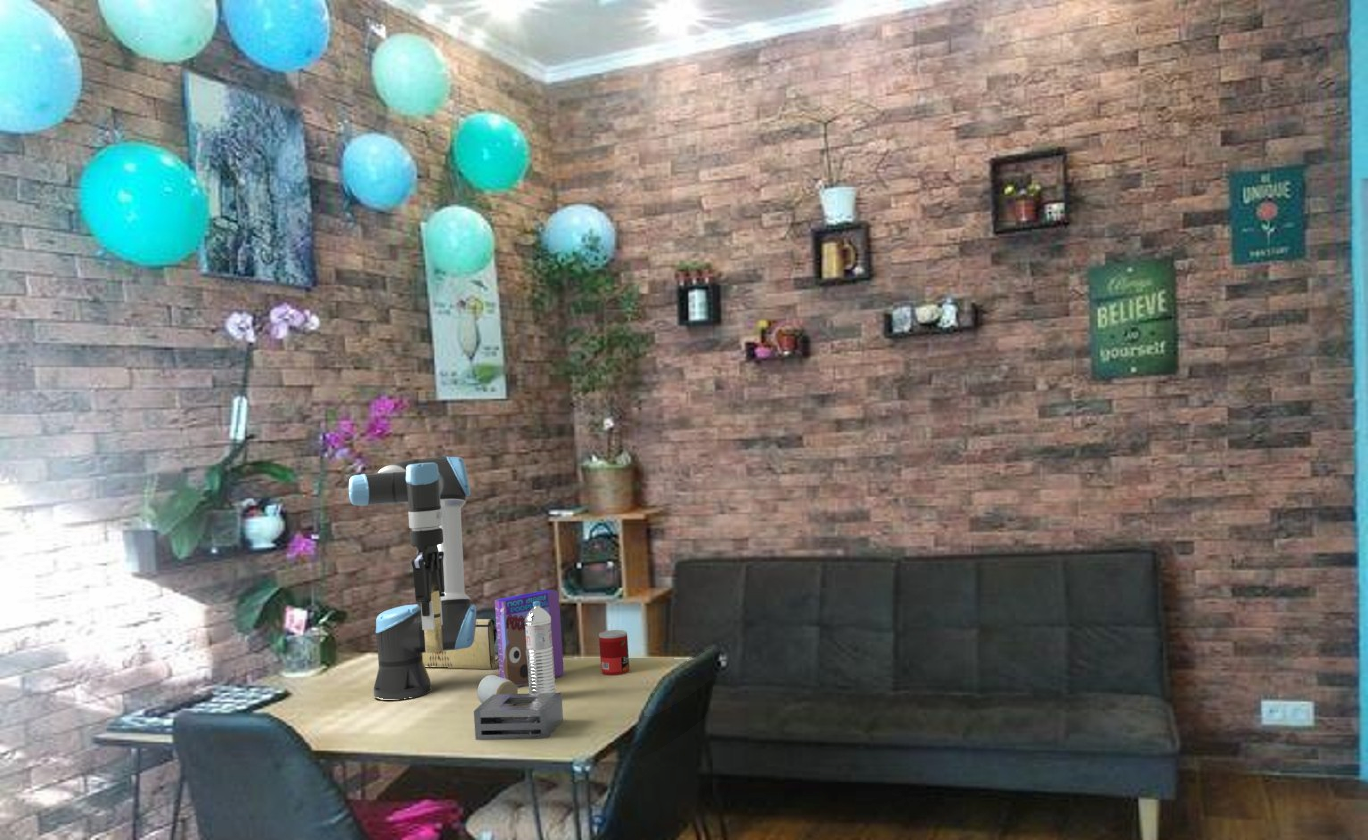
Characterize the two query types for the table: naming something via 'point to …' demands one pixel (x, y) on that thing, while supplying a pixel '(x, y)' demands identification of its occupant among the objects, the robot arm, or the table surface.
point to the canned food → (614, 652)
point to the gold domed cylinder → (435, 636)
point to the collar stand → (518, 716)
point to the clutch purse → (469, 650)
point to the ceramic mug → (495, 687)
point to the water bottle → (539, 651)
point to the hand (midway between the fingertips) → (432, 626)
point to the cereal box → (524, 633)
